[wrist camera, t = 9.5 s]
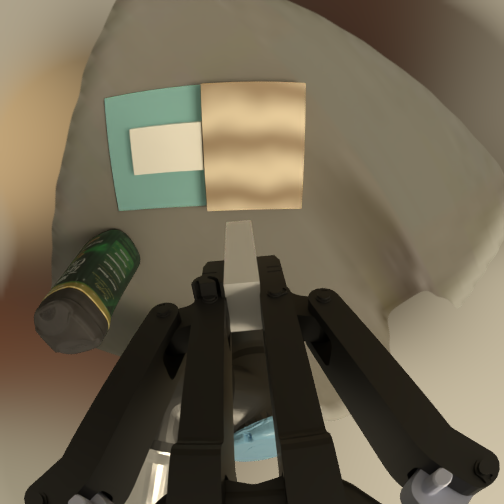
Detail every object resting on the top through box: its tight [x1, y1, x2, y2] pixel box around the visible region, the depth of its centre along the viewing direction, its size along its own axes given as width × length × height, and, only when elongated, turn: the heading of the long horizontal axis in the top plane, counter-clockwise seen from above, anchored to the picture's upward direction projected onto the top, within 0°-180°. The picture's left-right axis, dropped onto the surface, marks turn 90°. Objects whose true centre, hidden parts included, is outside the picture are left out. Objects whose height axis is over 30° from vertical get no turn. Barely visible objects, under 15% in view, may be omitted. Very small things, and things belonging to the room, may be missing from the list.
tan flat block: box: [201, 82, 306, 211], centre depth 35 cm, size 16×12×2 cm
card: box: [129, 121, 204, 175], centre depth 34 cm, size 6×9×2 cm, turn 91°
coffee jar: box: [34, 230, 140, 354], centre depth 34 cm, size 10×8×19 cm
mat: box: [105, 85, 207, 211], centre depth 35 cm, size 16×13×1 cm
